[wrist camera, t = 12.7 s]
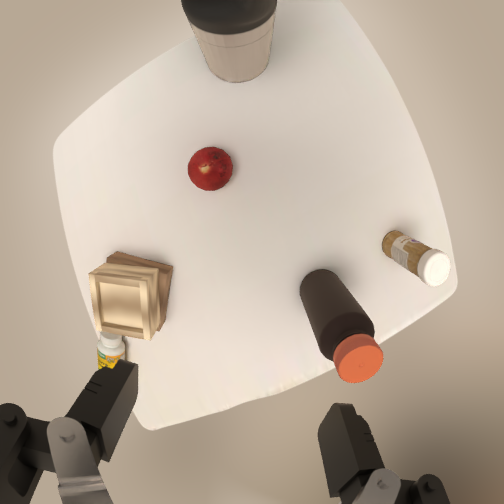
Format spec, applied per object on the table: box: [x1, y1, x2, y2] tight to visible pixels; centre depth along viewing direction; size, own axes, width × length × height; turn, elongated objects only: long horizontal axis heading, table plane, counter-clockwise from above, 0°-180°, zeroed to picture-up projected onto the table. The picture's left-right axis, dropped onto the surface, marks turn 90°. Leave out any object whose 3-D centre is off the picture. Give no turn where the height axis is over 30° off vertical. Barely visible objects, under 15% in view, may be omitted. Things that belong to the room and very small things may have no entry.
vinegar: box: [300, 270, 383, 383], centre depth 34 cm, size 7×7×20 cm
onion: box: [188, 147, 233, 191], centre depth 36 cm, size 6×6×8 cm
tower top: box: [89, 263, 161, 340], centre depth 38 cm, size 9×9×5 cm
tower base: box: [106, 252, 173, 331], centre depth 43 cm, size 10×10×4 cm
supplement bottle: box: [97, 331, 125, 369], centre depth 45 cm, size 5×5×10 cm
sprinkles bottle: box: [382, 231, 450, 287], centre depth 36 cm, size 5×5×13 cm
